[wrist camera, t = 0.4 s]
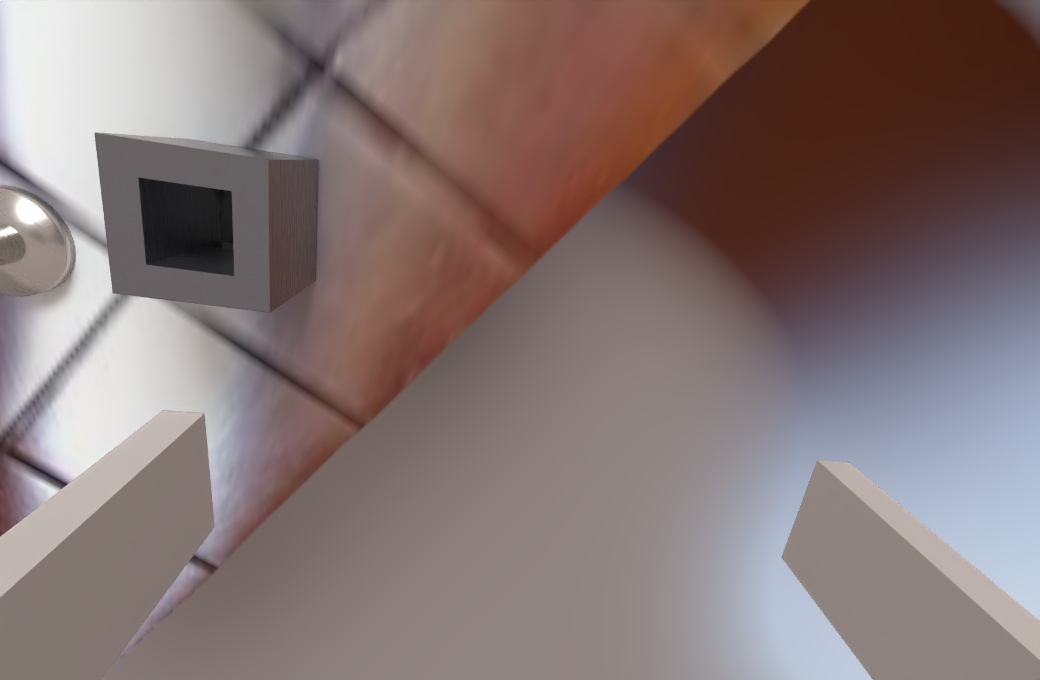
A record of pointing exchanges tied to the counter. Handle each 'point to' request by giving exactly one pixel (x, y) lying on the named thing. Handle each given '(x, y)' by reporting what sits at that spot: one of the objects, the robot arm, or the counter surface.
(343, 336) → the counter surface
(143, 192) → the block
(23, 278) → the hub
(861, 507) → the robot arm
